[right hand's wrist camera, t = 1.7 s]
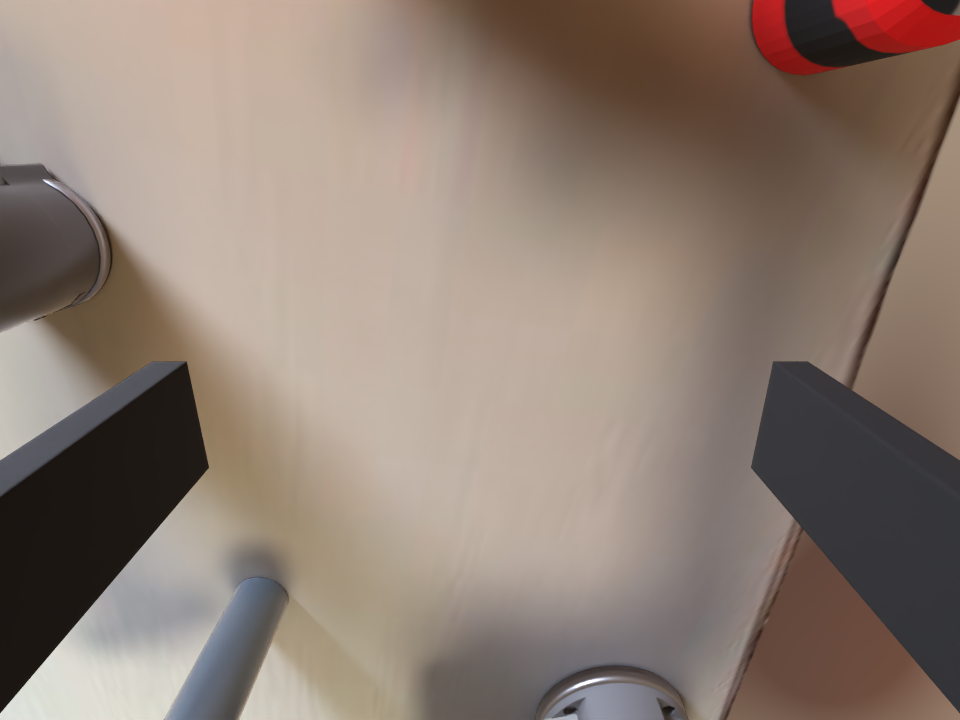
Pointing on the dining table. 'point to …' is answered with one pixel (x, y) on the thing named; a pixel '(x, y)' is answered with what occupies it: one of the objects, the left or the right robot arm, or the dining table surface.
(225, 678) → the jar
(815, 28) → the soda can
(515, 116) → the dining table surface
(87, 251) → the left robot arm
